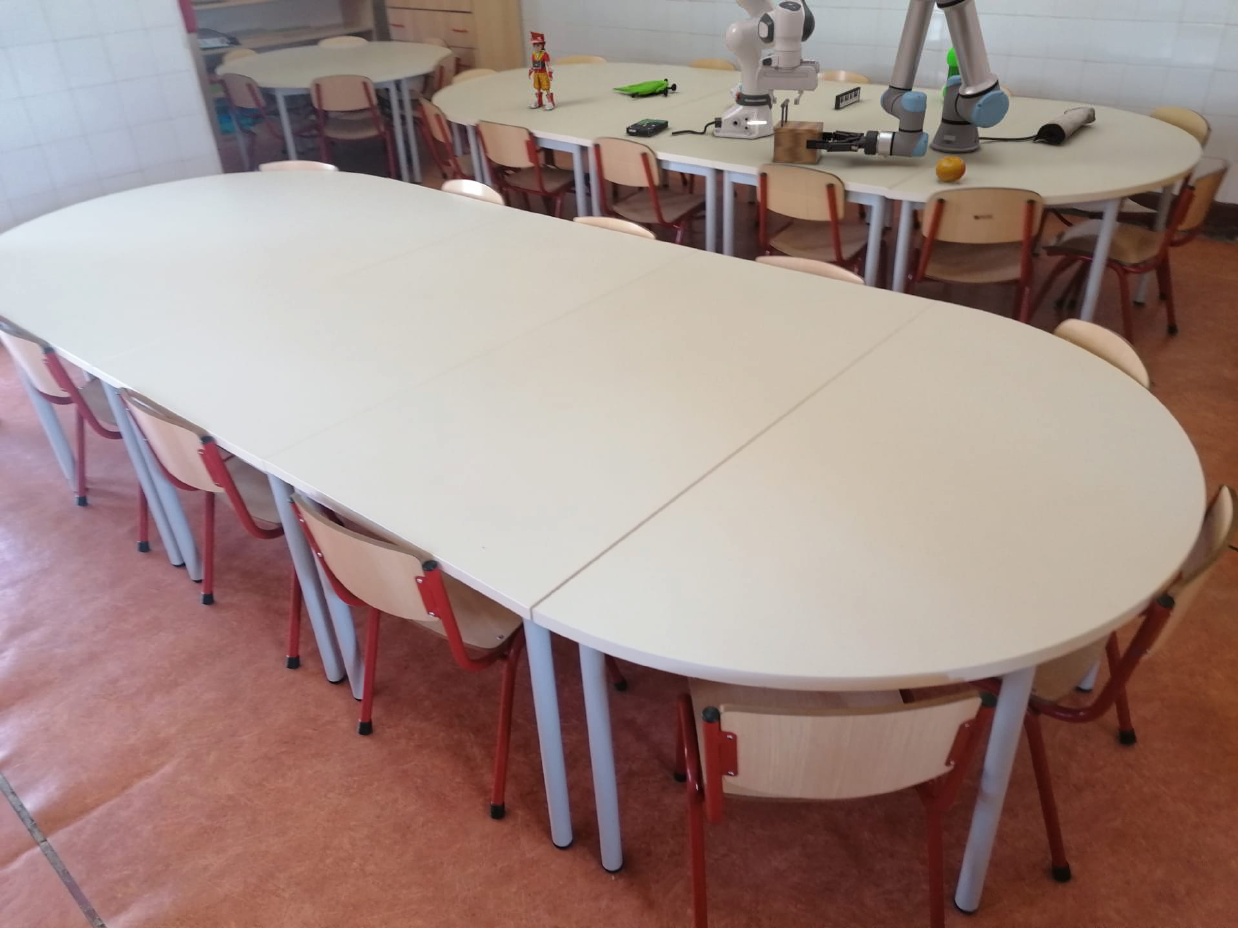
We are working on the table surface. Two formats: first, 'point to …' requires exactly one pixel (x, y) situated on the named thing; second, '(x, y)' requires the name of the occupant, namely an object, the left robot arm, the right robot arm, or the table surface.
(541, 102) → the toy
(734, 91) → the anatomical model
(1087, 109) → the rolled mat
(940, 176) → the fruit
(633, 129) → the disk drive
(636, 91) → the toy
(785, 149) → the chest
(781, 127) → the lid
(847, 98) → the midi keyboard
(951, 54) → the plastic bottle
